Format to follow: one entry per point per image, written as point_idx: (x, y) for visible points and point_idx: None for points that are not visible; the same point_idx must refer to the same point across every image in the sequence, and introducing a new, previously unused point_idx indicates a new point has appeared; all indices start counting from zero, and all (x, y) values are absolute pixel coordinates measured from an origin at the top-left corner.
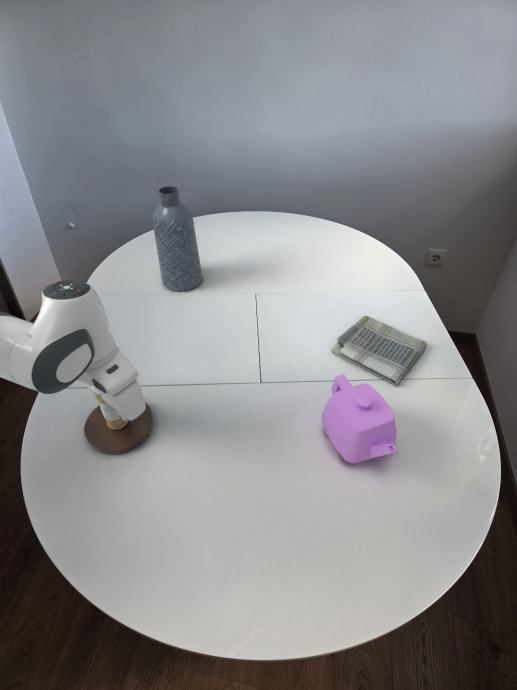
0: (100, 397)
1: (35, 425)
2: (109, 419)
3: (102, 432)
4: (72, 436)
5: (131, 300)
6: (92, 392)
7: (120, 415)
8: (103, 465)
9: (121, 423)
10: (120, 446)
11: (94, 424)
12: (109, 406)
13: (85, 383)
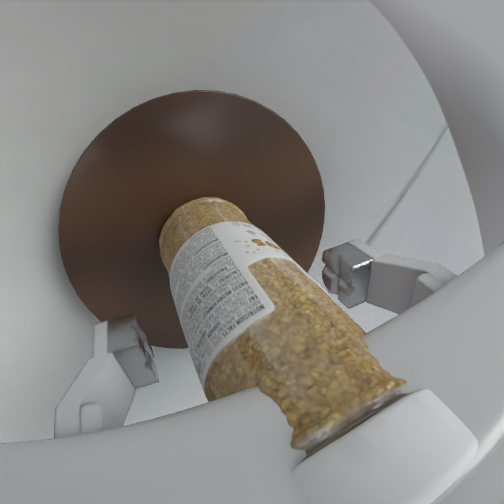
0: (284, 402)
1: (386, 27)
2: (190, 240)
3: (196, 162)
4: (279, 65)
5: None
6: (384, 260)
7: (109, 349)
8: (63, 105)
9: (165, 259)
10: (75, 202)
11: (259, 152)
12: (201, 342)
13: (474, 319)
